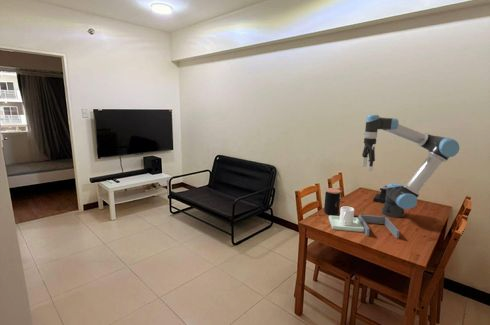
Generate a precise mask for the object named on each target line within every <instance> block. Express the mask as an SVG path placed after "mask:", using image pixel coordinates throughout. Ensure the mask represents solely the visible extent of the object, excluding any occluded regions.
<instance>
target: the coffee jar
mask: <svg viewBox="0 0 490 325" xmlns="http://www.w3.org/2000/svg"><path fill="white" fill-rule="evenodd" d="M341 191H342V190H341V189H339V188H335V187H328V188H326V189H325V194H324V195H325V196H324V207H323V212H324V213H325V214H326V215H328V216H338V215H339V214H340V204H341V203H340V202H341Z"/></svg>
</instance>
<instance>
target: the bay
mask: <svg viewBox="0 0 490 325" xmlns="http://www.w3.org/2000/svg"><path fill="white" fill-rule="evenodd" d="M357 218H358V220H359V221H360V223H361V224H362V226H363V227H364V232H363V233H364V234H365V236H366V237H369V236H370V231H371V230H370V229H371V228H370V227H369V225H368V224H380V225H384V226H385V227H386V228H387V229H388V231H390V233H391V234H392V235H393V236H394V238H395V239H398V240H399V237H400V230H399V229H398V228H397V227H396V226H395V225H394V224H393V222H392V221H391V220H390V219H389V218H388V216H386V215H385V216H384V215H371V214H370V215H369V214H368V215H367V214H358V215H357Z"/></svg>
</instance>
